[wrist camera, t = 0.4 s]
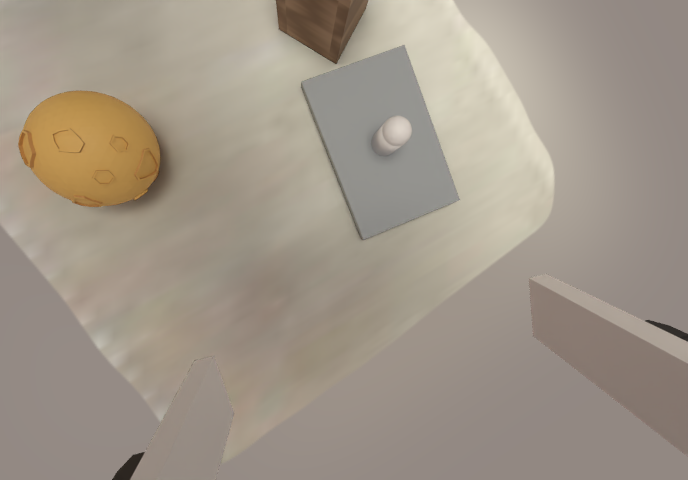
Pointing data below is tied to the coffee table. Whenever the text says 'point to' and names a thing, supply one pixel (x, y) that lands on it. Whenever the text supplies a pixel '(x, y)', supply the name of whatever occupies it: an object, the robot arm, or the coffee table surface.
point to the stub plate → (354, 128)
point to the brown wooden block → (321, 23)
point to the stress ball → (90, 148)
